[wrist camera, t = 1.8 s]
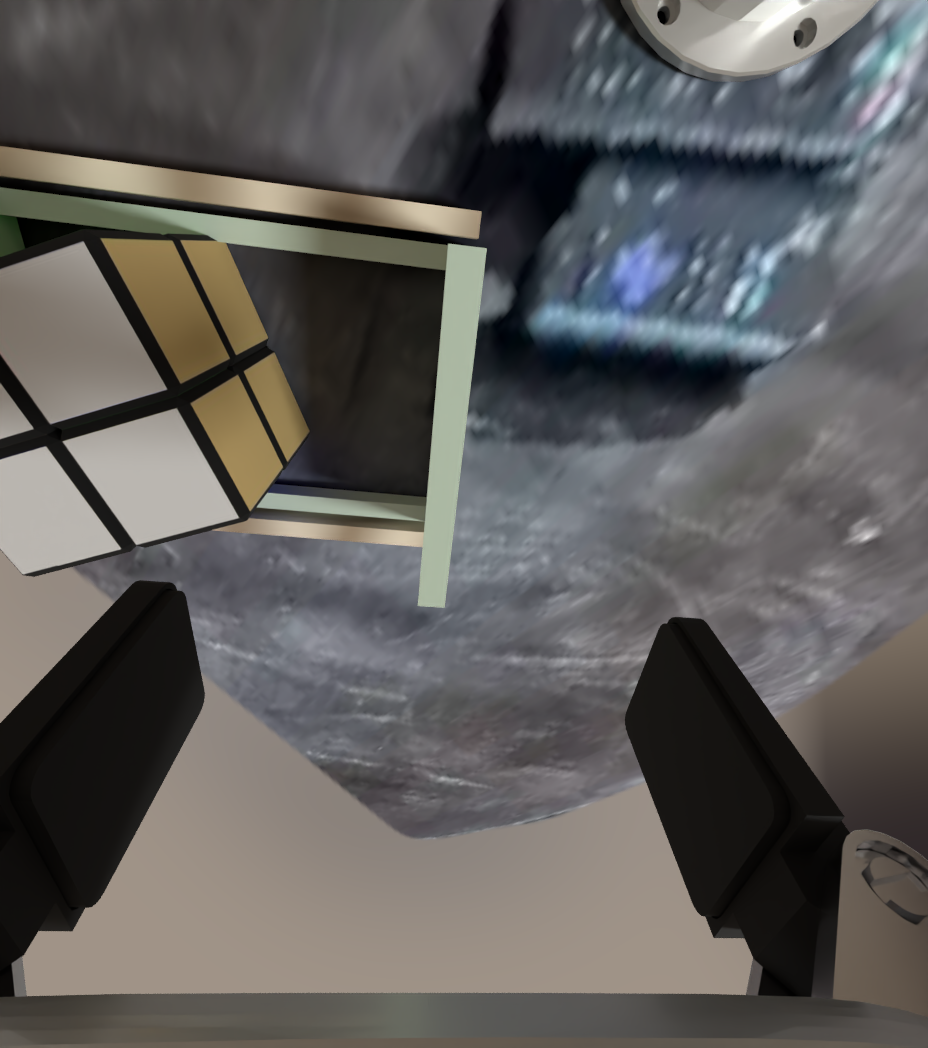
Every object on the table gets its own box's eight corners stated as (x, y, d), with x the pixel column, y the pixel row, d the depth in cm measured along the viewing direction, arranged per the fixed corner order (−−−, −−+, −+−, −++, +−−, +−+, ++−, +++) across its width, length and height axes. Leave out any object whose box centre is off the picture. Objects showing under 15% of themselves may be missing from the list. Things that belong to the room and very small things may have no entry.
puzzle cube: (152, 480, 28) (21, 583, 20) (33, 296, 23) (-211, 324, 15) (314, 435, 27) (252, 522, 19) (224, 233, 22) (84, 223, 14)
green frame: (473, 248, 23) (486, 248, 15) (445, 513, 30) (444, 607, 22) (-12, 185, 21) (-279, 149, 13) (77, 482, 28) (-66, 572, 20)
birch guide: (478, 214, 22) (481, 211, 21) (444, 531, 31) (444, 548, 29) (-61, 141, 21) (-107, 131, 19) (57, 499, 29) (32, 516, 27)
